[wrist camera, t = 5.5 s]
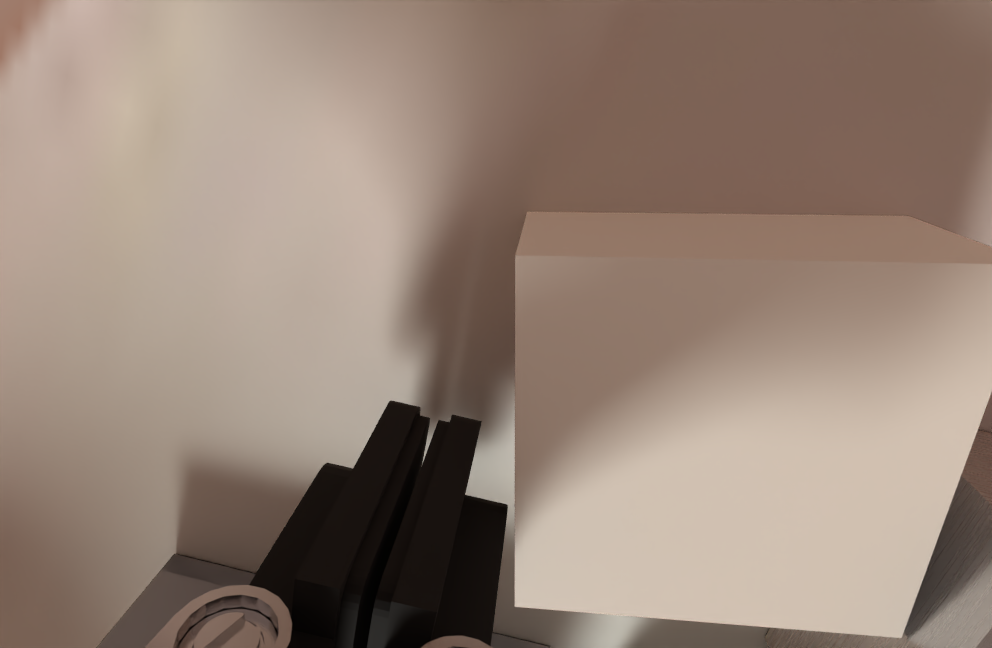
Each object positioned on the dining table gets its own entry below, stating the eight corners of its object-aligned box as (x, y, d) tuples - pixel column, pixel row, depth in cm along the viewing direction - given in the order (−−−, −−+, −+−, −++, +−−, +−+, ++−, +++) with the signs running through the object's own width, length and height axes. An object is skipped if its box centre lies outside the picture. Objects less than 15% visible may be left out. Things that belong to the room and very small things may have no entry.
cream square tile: (897, 212, 9) (1038, 265, 7) (821, 507, 12) (902, 638, 9) (527, 208, 10) (515, 255, 7) (525, 488, 12) (514, 606, 9)
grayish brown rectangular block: (1062, 449, 10) (1291, 618, 7) (899, 670, 13) (1013, 871, 9) (895, 410, 10) (1046, 559, 7) (764, 637, 13) (832, 825, 9)
